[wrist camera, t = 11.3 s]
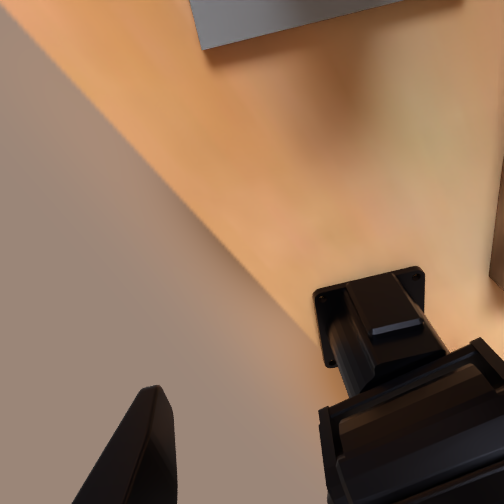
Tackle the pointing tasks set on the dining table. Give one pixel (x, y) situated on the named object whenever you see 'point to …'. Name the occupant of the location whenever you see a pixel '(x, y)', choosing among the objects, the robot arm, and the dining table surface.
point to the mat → (265, 16)
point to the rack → (499, 241)
